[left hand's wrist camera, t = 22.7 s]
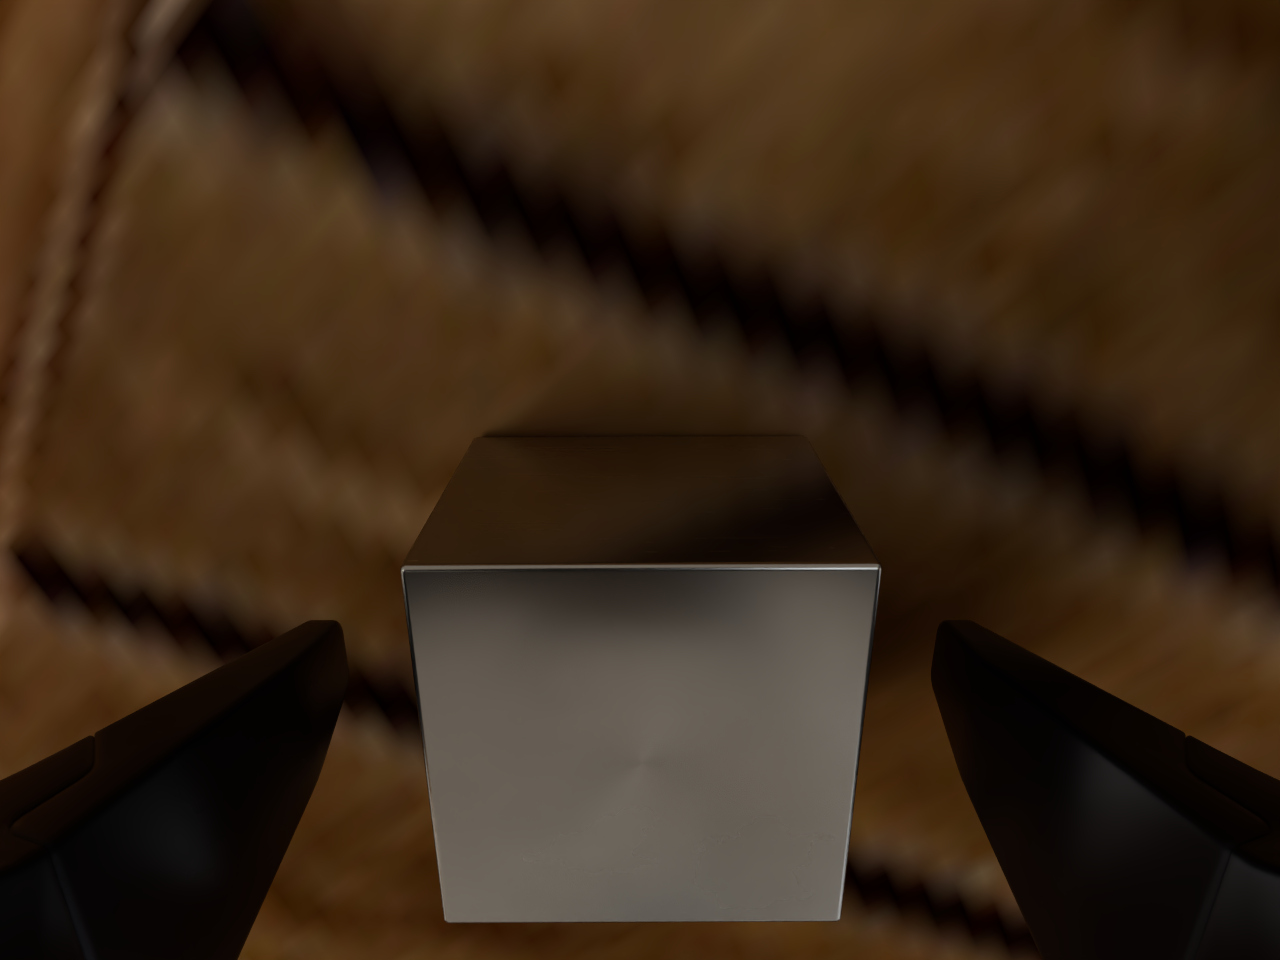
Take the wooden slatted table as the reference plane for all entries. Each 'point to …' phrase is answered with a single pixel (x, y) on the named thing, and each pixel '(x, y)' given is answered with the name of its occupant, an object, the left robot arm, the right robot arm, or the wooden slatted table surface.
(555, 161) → the wooden slatted table surface
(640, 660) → the grey metal block
